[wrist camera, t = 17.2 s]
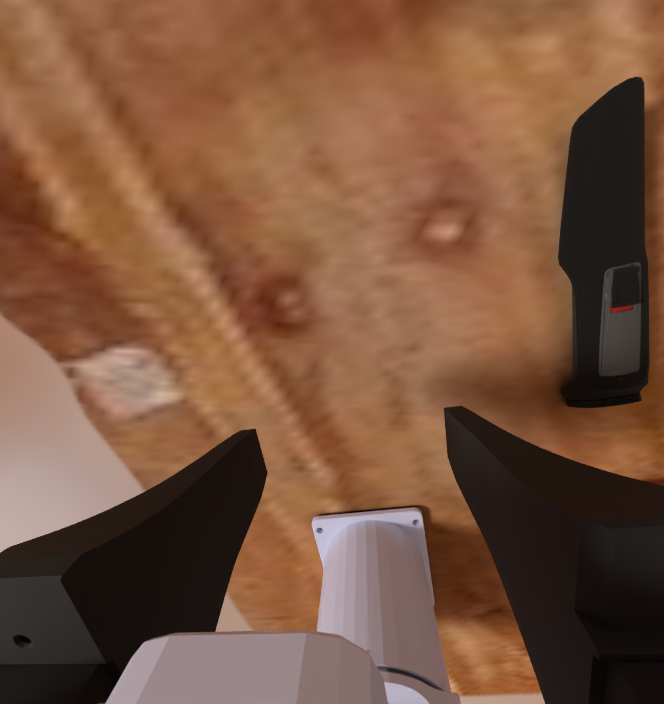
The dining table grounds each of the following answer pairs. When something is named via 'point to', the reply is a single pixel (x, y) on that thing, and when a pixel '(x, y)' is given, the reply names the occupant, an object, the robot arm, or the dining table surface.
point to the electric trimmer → (607, 250)
